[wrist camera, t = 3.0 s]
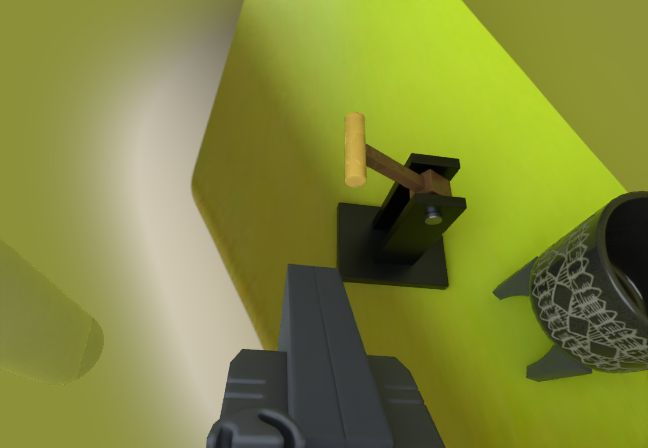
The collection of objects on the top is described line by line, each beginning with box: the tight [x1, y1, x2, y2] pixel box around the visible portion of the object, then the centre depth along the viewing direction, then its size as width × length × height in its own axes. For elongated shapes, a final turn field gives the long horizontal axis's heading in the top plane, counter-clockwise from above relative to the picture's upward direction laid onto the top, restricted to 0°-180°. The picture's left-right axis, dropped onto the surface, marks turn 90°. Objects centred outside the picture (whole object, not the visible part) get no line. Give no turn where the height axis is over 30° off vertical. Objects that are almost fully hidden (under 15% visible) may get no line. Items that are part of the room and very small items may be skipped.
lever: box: [345, 112, 452, 199], centre depth 35 cm, size 11×6×2 cm, turn 91°
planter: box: [493, 191, 648, 382], centre depth 38 cm, size 13×13×18 cm
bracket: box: [337, 153, 467, 290], centre depth 42 cm, size 12×9×14 cm
